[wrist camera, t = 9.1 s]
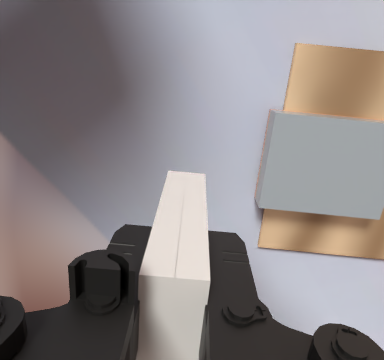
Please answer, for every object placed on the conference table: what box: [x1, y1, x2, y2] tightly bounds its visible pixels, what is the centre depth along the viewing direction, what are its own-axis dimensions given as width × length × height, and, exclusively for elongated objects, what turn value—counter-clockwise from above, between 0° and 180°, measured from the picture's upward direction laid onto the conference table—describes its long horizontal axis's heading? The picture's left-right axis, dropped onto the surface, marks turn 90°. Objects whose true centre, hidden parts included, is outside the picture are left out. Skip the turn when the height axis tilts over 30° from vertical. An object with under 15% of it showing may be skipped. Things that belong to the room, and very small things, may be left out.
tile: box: [255, 109, 384, 220], centre depth 23 cm, size 2×7×9 cm
